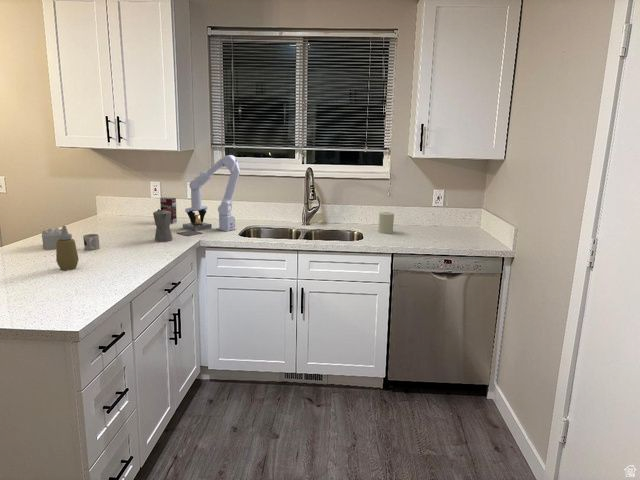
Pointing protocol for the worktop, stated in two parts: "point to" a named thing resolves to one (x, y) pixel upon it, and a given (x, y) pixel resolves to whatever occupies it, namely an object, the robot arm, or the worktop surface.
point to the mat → (189, 233)
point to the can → (386, 222)
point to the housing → (197, 226)
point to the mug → (91, 242)
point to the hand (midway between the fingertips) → (197, 222)
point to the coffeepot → (162, 225)
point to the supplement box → (169, 207)
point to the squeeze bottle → (66, 251)
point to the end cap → (197, 220)
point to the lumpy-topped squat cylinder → (50, 238)
